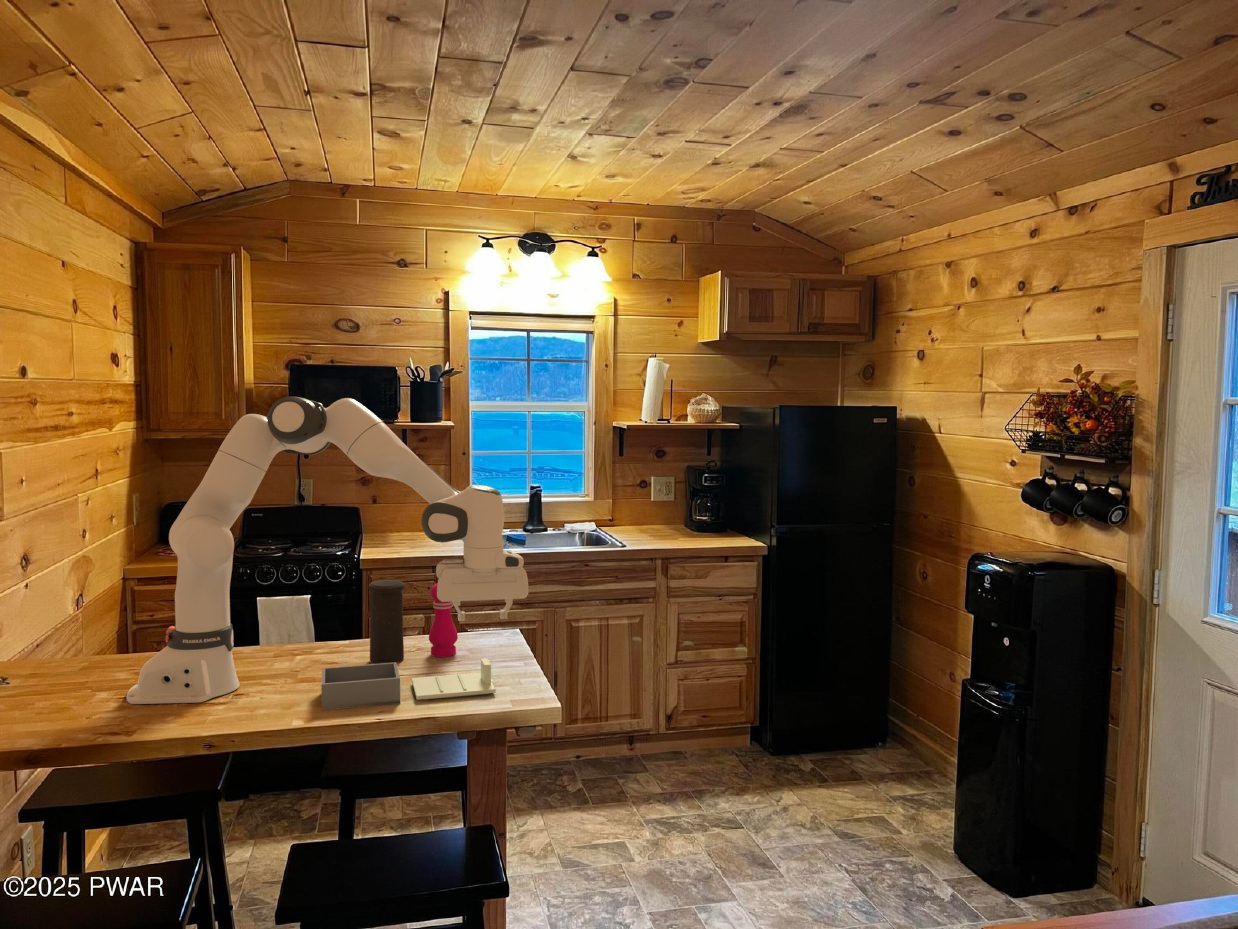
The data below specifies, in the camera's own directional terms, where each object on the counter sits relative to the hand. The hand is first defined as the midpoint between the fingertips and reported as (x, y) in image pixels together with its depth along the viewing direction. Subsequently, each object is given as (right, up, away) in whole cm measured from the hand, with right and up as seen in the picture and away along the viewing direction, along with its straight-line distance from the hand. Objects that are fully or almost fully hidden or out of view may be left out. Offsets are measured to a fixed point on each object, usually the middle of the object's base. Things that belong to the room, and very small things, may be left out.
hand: (482, 619), depth 207 cm
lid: (-7, -15, 0) cm, 16 cm away
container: (-27, -14, +22) cm, 37 cm away
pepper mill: (-14, -14, +28) cm, 34 cm away
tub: (-26, -16, -6) cm, 31 cm away
